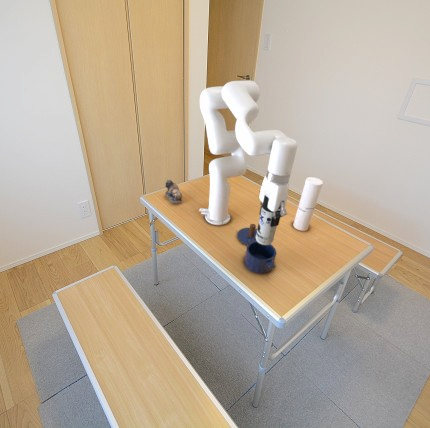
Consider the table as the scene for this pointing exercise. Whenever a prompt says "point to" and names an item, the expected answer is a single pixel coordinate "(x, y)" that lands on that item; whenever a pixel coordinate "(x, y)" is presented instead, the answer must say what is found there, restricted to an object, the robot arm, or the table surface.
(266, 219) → the spray can
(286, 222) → the table surface
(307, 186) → the cylindrical container
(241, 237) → the pan lid
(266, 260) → the pan
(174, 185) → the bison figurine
